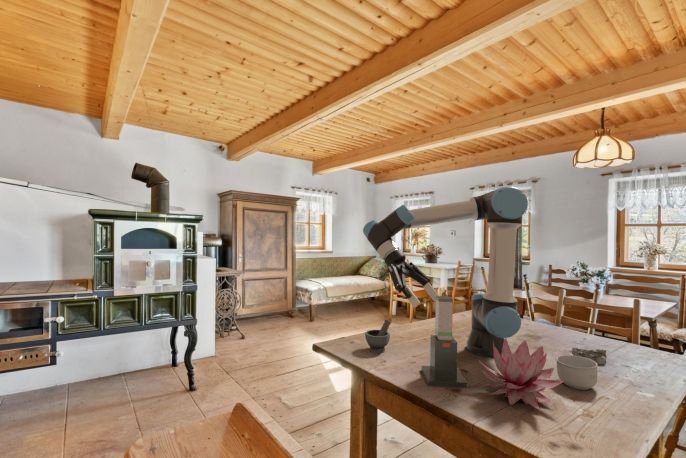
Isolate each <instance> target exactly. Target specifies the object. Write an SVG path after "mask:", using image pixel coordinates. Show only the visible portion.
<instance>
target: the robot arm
mask: <svg viewBox="0 0 686 458" xmlns="http://www.w3.org/2000/svg"><path fill="white" fill-rule="evenodd" d="M528 207H529V201H528V197H527V195H526V194H525V192H523V190H522V189H520V188H518V187H515V186H502V187H499V188H497V189H495V190H491V191H489V192H487V193H484V194H481V195H476V196H472V197H470V198H469V199H468V200H463V201H456V202H450V203H444V204H438V205H433V206H432V205H431V206H426V207H419V208H413V209H409V207H408V206H407V205H406V204H401V205H400V206H399V207H396V209H394V210H393V211H392V212H390V213H389V214H388V215H387V216H386V217H384V218H383V219H382V220H380V221H378V220H377V219H373V220H372V219H371V220H370V221H368V222H367V223H366V224H365V225H364V226H363V228H362V232H363V234H364V236H365V238H366V239H367V241H368V242H369V243H370V245H371V246H372V247H373V248H374V250H375V252H376V253H377V254H378V256H379V257H380V259H382V261H384V264H385V265H386V266H387V271H388V273H389V275H390V277H391V281H392V284H393V286H394V289H395V291H397V292H398V293H400V294H401V293H403V295H404V296H405V298H406V299H407V300H408V302H409V303H410V304H411V306H412V308H414V309H415V308H416V307H418V306H419V304H421V301H420V299H419V298H418V297H417V295H416V294H414V292H413V290H412V289H411V288H410V286H407V281H406V277H407V278H410V279H413V280H414V281H416V282H417V283H419V284H420V285H422V286H423V287H422V288H423V289H424V290H425V292H426V293H427V294H428V296H429V297H430V298H431V300H432V301H433V302H434V303H436V296H440V295H439V293H438V292H437V291H436V290H435V289H434V287H433V286H432V285H431V284H430V282H431V281H432V279H431V278H429V276H427V275H426V274H425V273H424V272H423V271H421V270H420V269H419V268H418V267H417V266H416V265H415V264H414V263H413V262H412V261H409V263H408V262H406V258H407V256H406V255H405V254H404V252H403V251H402V249H400V247H399V245H397V243H396V242H395V241H394V240H393V237H394V236H396V235H397V234H398V233H400V232H402V230H407V229H412V228H419V227H425V226H430V225H431V226H432V225H438V224H439V225H440V224H444V223H453V222H457V221H465V220H471V219H472V220H473V221H481V220H483V221H484V220H486V224H487V226H488V227H489V228H490V239H489V259H488V272H487V273H488V274H487V291H486V292H485V293H479V292H477V293H473V294H472V296H471V301H470V302H471V328H470V329H471V331H470V332H469V335H468V338H467V341H466V349H467V350H468V351H469V352H471V353H474V354H477V355H479V356H484V357H491V358H492V357H493V354H494V349H493V343H494V347H496V349H497V350H498V352H499V353H500V355H501V356H502V354H501V353H502V347H503V342H504V340H505V338H506V339H509V338H511V337H513V336H515V335H516V334H517V333H518V332H519V331H520V329H521V327H522V318H521V316H520V314H519V312H518V299H517V298H516V297H515V296H514V284H515V283H514V281H515V264H516V263H515V262H516V249H517V248H516V247H517V230H518V228H519V227H521V226H522V223H523V216H524V214H525V213H526V211H527V210H528ZM493 358H494V357H493Z"/></svg>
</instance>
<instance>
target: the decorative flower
mask: <svg viewBox="0 0 686 458" xmlns="http://www.w3.org/2000/svg"><path fill="white" fill-rule="evenodd" d="M504 339H505V340H504V342H503V347H502V353H501V354H502V356H501V355H500V353H499V352H498V350H497V349H496V347H494V343H493V349H494V354H493V360H494V363H495V366H496V368H497V370H498V371H499V373H498V372H497V371H495V370H493V369H491V368H490V367H488V366H487V365H485V364H484V362H482V361H481V360H478V362H479V363H480V364H481V366H482V367H483V368H484V369H485V370H486V371H488V373H490V374H492V375H493V376H495V377H493V376H492V375H490V374H488V373H486V372H485V371H483V370H481V373H483V374H484V375H485V376H486V377H487V378H489V379H490V380H493V381H494V382H497V383H498V384H492V383H487V385H488V386H491V387H500V388H499V389H498V390H496V391H493V392H490V393H489V395H495V396H496V395H497V396H498V395H503V394H505V395H504V396H503V398H508V403H509V404H510V405H514V404H515V403H516V402H517V403H518V402H519V400H521V401H523V403H524V404H525V405H527V406H528V404H529V405H530V406H532V407H533V408H535V409H540V407H539V403H538V400H539V401H541V402H546V403H550V404H552V403H554V402H553V401H552V400H550V399H549V398H548V397H547V396H546V395H544V394H543V393H546V391H545V390H548V389H552V388H556V387H557V386H559V385H560V384H562V383H564V380H560V379H558V380H557V379H550V378H551V376H552V374H553V373H554V370H555V369H554V367H551V368H546V369H544V367H545V364H546V362H547V354H548V353H547V352H545V351H544V347H543V346H542V345H541V346H540V347H538V348H537V349H536V350H535V351H534V352H532V353H531V354H530V350H529V349H530V348H529V346H528V342H527V340H523V341H522V342H521V343H520V344H519V346H517V348H516V350H515V351H514V353H513V352H512V350H511V348H510V345H509V343H508V338H504ZM544 352H545V353H544ZM496 377H497V378H496ZM499 383H500V384H499Z"/></svg>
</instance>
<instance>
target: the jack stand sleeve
mask: <svg viewBox="0 0 686 458" xmlns="http://www.w3.org/2000/svg"><path fill="white" fill-rule="evenodd" d="M429 348H430V349H429V350H430V353H429V355H430V358H429V363H430V364H429V365H421V368H420V369H421V372H422V374H423V377H424V380H425V382H426V384H427V386H428V387H445V388H447V387H448V388H468V381H467V380H466V379H465V376H464V375H463V374H462V372H461V371H460V369H459V368H458V342H457V340H456V339H455V338H454V337H453V336H452V341H437V339H436V338H435V334H430V347H429Z"/></svg>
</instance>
